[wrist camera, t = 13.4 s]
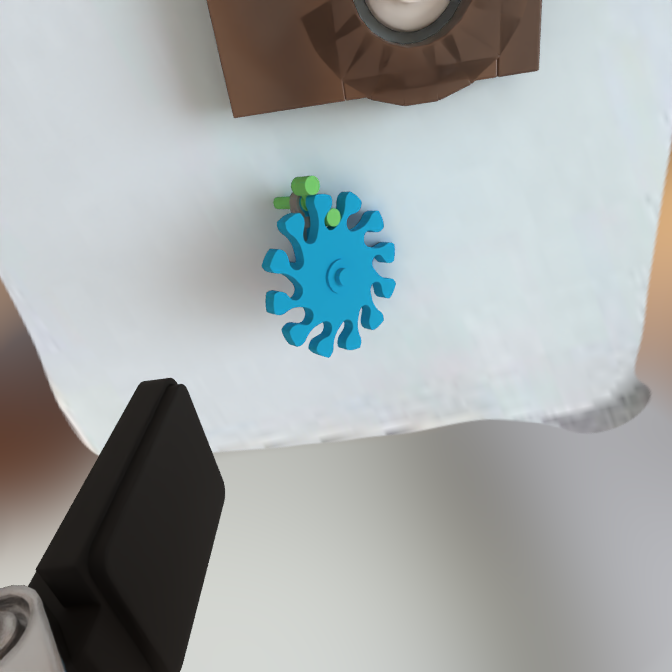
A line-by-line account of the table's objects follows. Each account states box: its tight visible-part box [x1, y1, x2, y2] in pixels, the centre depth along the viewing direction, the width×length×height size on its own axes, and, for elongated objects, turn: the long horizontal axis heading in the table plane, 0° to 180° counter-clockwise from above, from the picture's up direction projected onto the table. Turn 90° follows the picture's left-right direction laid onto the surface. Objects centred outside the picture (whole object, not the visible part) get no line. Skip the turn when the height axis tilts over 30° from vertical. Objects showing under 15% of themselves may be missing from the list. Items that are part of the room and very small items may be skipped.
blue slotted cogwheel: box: [262, 176, 396, 358], centre depth 34 cm, size 11×6×10 cm
